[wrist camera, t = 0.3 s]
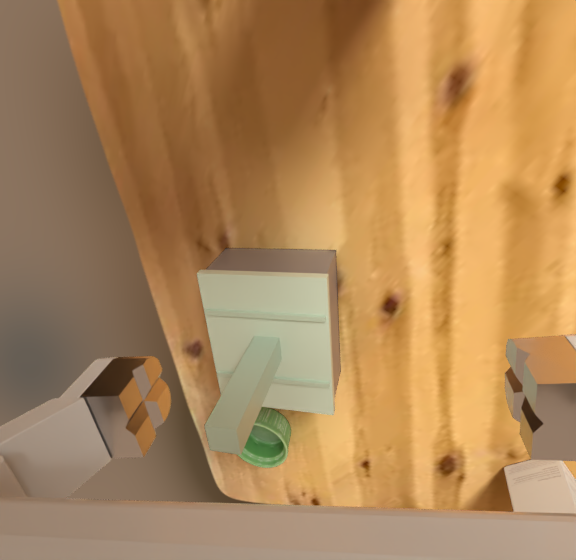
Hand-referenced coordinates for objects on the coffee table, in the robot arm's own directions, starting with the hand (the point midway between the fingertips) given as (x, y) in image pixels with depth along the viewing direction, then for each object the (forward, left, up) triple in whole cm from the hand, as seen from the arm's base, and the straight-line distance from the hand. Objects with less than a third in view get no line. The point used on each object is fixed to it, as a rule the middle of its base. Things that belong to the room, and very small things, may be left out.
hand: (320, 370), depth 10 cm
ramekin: (+44, -18, -39) cm, 61 cm away
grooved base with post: (+23, -13, -32) cm, 41 cm away
